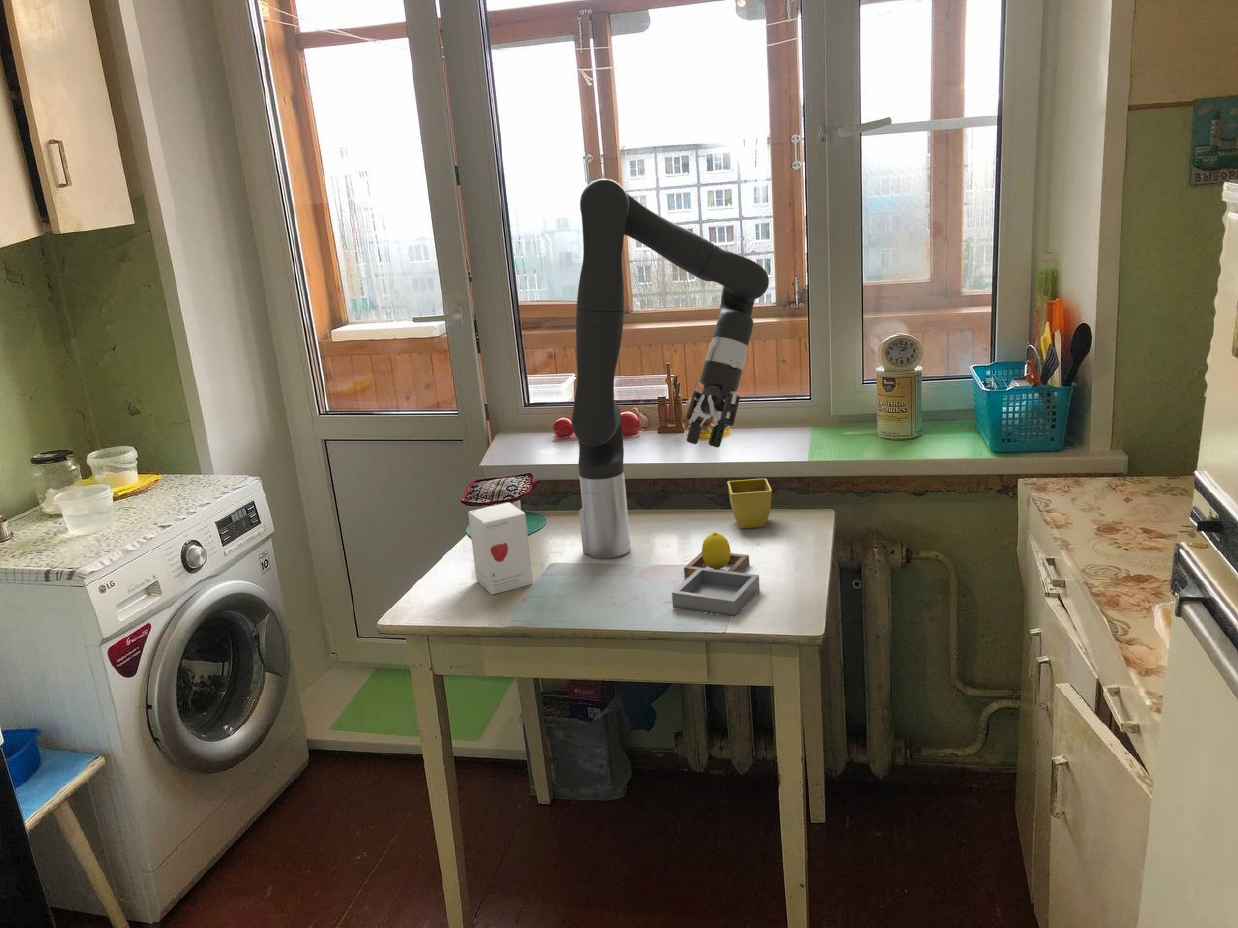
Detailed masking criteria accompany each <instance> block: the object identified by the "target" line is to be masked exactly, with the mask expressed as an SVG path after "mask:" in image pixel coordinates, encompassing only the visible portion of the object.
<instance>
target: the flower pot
mask: <svg viewBox="0 0 1238 928" xmlns="http://www.w3.org/2000/svg"><path fill="white" fill-rule="evenodd" d="M727 488H728V495H729V503H730V506H731V509H732V512H733V517H734V519H735V521H736V523H737V525H738V527H739V528H740V529H749V528H750V529H751V528H762V527H765V524H767V522H768V520H769V516H770V513H771V508H772V507H771V506H772V496H773V495H772V493H773V492H772V491H773V490H772V487H771V485H770V483H769V482H768V479H767V478H751V479H742V480H741V479H740V480H728V481H727Z"/></svg>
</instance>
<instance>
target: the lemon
mask: <svg viewBox="0 0 1238 928" xmlns="http://www.w3.org/2000/svg"><path fill="white" fill-rule="evenodd" d="M701 552H702V557H703V560H704V562H705V564H704V565H706V566H707V568H709V569H716V570H722V569H723V568H724V567H726V566H727V565H729V564H728V562H729V559H730V554H731V553H732V551H731V547H730V544H729V541H728V539H727V538H726V537H725V536H724V535H722V534H720V533H718V532H716V531H714V532H713V533H711V534H709V535H708V536H706V537H705V539H704V540H703V542H702V545H701Z"/></svg>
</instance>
